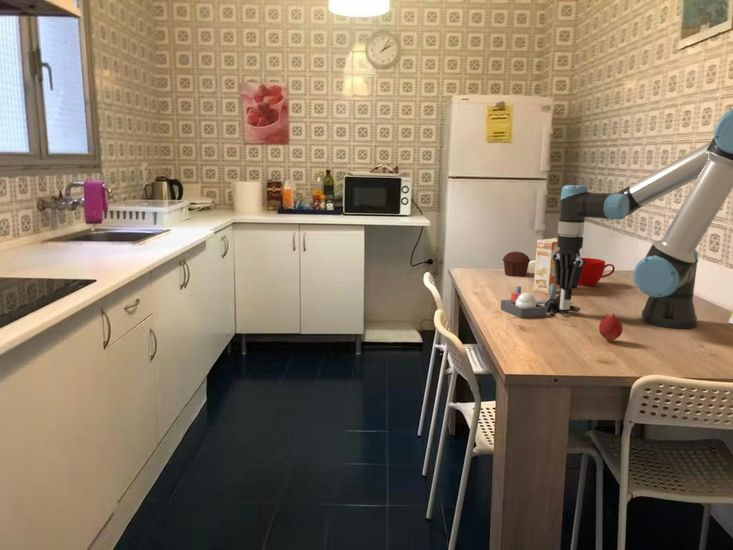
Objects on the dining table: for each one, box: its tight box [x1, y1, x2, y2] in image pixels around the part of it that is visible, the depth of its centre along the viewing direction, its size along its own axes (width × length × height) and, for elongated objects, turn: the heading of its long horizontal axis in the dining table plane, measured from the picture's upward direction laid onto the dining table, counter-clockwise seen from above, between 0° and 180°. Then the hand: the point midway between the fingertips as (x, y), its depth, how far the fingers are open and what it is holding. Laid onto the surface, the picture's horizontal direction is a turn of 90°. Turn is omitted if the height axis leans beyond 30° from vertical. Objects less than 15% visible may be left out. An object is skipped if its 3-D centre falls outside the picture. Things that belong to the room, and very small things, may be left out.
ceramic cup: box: [578, 257, 616, 288], centre depth 232 cm, size 13×17×10 cm
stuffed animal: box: [543, 293, 581, 318], centre depth 189 cm, size 12×10×12 cm
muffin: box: [502, 251, 531, 278], centre depth 253 cm, size 12×11×10 cm
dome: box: [516, 292, 538, 308], centre depth 185 cm, size 6×6×6 cm
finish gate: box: [514, 284, 557, 304], centre depth 201 cm, size 2×16×6 cm, turn 108°
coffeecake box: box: [533, 237, 560, 295], centre depth 221 cm, size 15×7×20 cm, turn 129°
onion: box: [598, 312, 623, 343], centre depth 157 cm, size 6×6×8 cm
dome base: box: [500, 292, 547, 319], centre depth 187 cm, size 12×9×5 cm
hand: (564, 308), depth 186 cm, fingers closed
